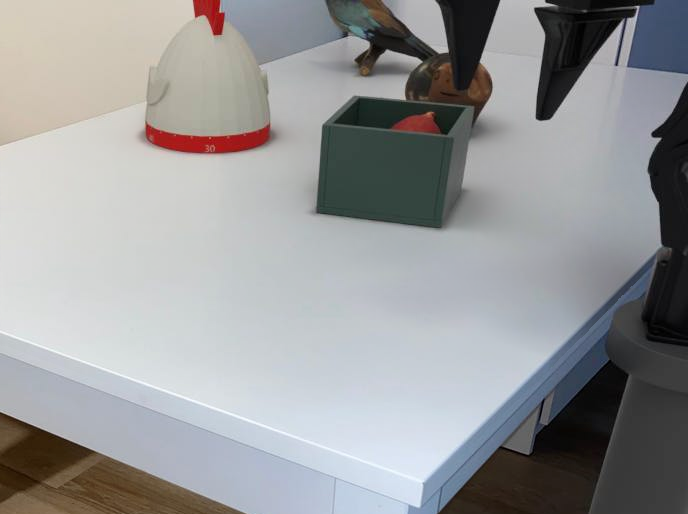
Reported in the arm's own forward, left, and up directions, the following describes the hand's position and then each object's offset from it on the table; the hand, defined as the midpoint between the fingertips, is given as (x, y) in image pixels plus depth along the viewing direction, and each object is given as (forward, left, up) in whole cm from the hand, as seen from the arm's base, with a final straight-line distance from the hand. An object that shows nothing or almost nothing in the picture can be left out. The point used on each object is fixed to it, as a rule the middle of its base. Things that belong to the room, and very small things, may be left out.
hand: (500, 104), depth 70 cm
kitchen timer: (+34, -32, -13) cm, 48 cm away
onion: (+10, -16, -12) cm, 22 cm away
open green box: (+10, -17, -13) cm, 24 cm away
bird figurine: (+24, -72, -13) cm, 77 cm away
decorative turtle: (+10, -45, -13) cm, 48 cm away
